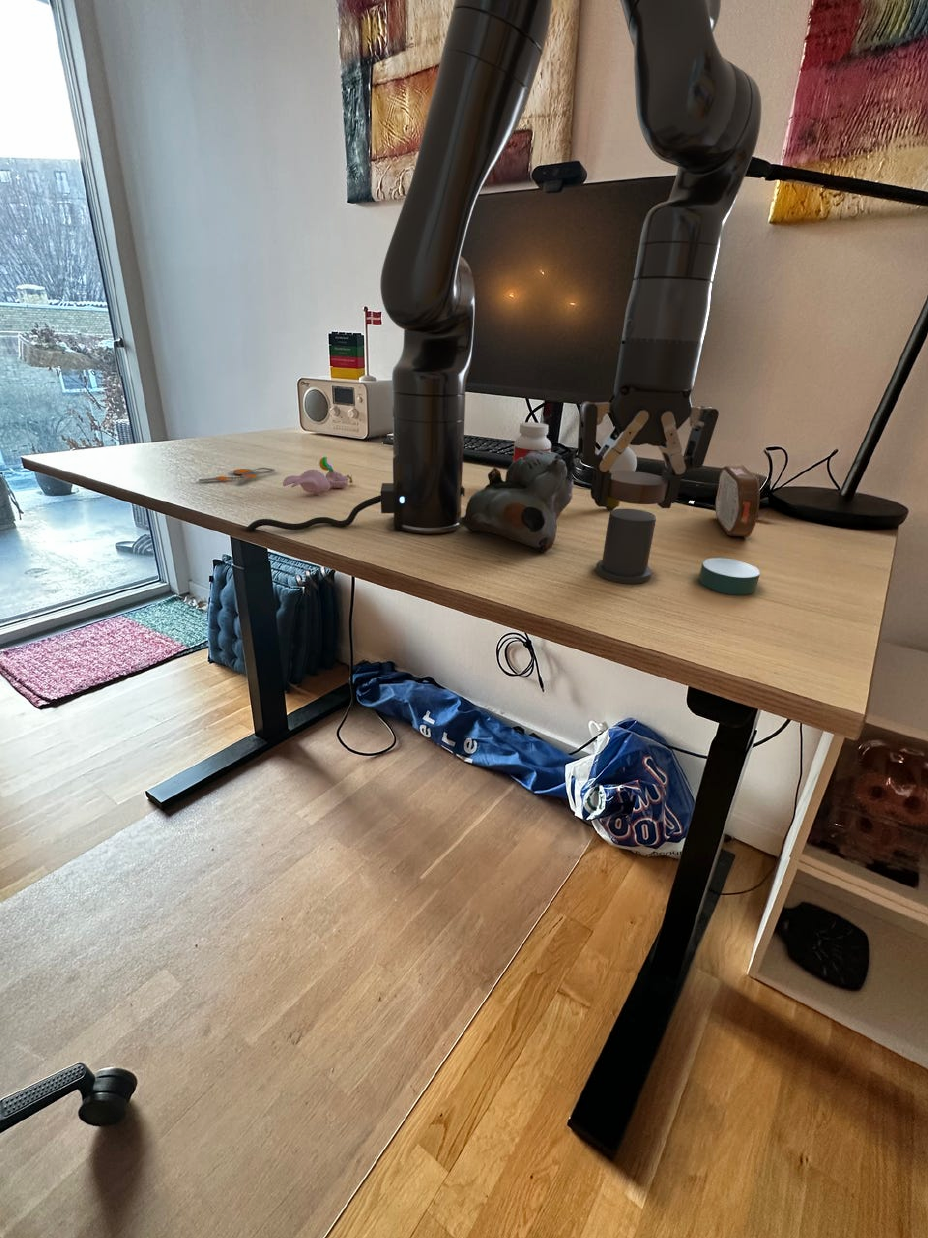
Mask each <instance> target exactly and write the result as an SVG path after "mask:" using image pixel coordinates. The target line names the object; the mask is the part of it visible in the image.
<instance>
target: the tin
mask: <svg viewBox="0 0 928 1238" xmlns="http://www.w3.org/2000/svg"><path fill="white" fill-rule="evenodd" d="M760 494H761V490H760V482H759V479H758V477H757V475H755V474H754V473H753V472H751V470H749V469H748V467H746V465H744V464H741V465H725V466H723V468H722V469H721V470H720V473H719V478H718V487H717V493H716V497H715V501H714V502H715V503H714V505H715V507H714V508H715V516H716V520H717V521H718V523H719V524H720V526H721V527H722V528H723V531H725V533H726V534H727V535H728V536H730V537H744V538H748V537H750V536H751V535H752V533H753V532H754V529H755V527H756V523H757V520H758V515H759V509H760V501H761V500H760V499H761V498H760V497H761V495H760Z"/></svg>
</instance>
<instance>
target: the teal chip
mask: <svg viewBox="0 0 928 1238" xmlns="http://www.w3.org/2000/svg"><path fill="white" fill-rule="evenodd" d="M760 574H761V571H760V570H759V568H757V567H756V566H754V565H753V564H750V563H748V562H744V561H741V560H738V559H731V558H722V557H713V558H712V557H711V558H707V559H705V560H703V561H702V563H701V566H700V571H699V575H698V582H699V584H701V585H702V586H704V587H705V588H707V589H709V590H712V591H714V592H717V593H722V594H726V595H727V594H728V595H737V596H740V595H750V594H752V593H754V592H755V591H756V589H757V586H758V583H759V579H760V576H761V575H760Z"/></svg>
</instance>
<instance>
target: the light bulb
mask: <svg viewBox="0 0 928 1238" xmlns="http://www.w3.org/2000/svg"><path fill="white" fill-rule="evenodd" d="M637 466H638V460H637V455H636V453H635V452H634V450H633V449H632V448H631V447H629V446H628V447H627V448H626V450H625V451H624V452H623V453H622V454H620V455H619V456H618V458H617V459H616V461H615V462H614V464H613V465H612V466H611V468H610V469H609V471H610V472H614V471H637ZM620 503H621V501H617V500H614V499H611V498H609V497H608V499H607V504H606V507H605V508H606V509H607V510H608V511H612V510H615V509H617V508H618V507H619V506H620Z"/></svg>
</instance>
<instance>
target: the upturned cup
mask: <svg viewBox="0 0 928 1238" xmlns="http://www.w3.org/2000/svg"><path fill="white" fill-rule="evenodd" d="M656 522H657V515H655V514H654V513H651V512H649V511H646V510H642V509H637V508H614V509H613V510H609V514H608V520H607V526H606V527H607V528H606V534H605V541H604V548H603V554H602V559H600V560H598V562H597V563H596V564H595V573H596V574H597V575H598V576H599V577H601V578H602V579H604V580H607V581H610V582H613V583H617V584H625V585H637V584H644V583H646V582H648V581H650V580H651V578H652V574H653V573H652V568H651V567H650V566H649V565H648V564H649V560H650V554H651V549H652V543H653V538H654V534H655V533H654V532H655V529H656Z"/></svg>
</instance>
